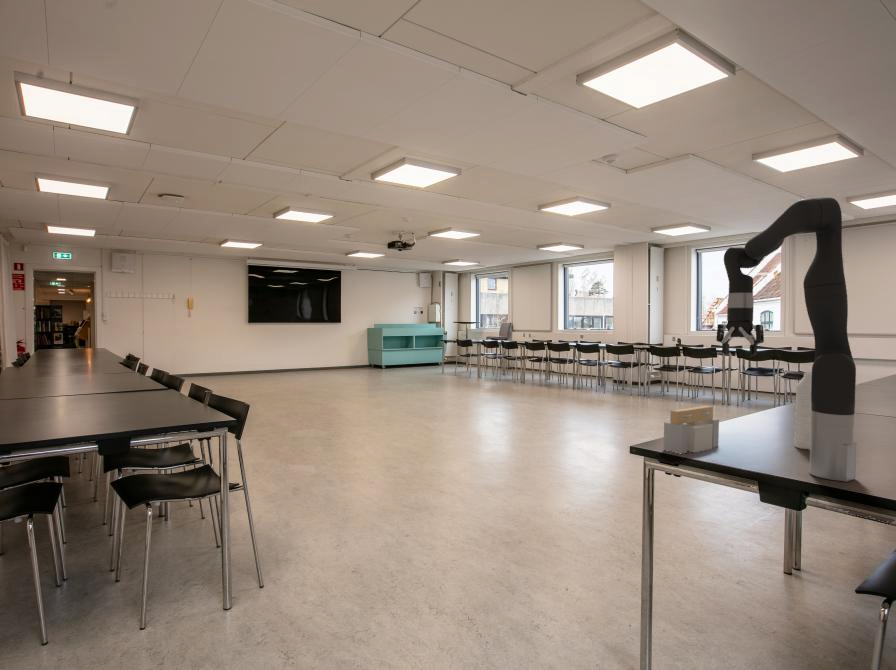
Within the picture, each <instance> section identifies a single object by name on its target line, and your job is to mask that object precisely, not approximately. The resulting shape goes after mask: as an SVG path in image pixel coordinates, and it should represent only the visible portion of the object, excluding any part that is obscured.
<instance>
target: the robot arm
mask: <svg viewBox="0 0 896 670" xmlns="http://www.w3.org/2000/svg"><path fill="white" fill-rule="evenodd" d="M842 220H843V219H842V208H841V205H840V203H839V202H838V200H837V199H836V198H833V197H807V198H803V199H800V200H796V201H795V202H793V204H791V205H790V206H789V207H788V208H787V209H786V210H785V211H784V212H783V213H781V215H780V216H778V218H777V219H775V220H774V221H773V222H772V224H770V225H769V226H768V227H767V228H766V229H764V230H763V231H761V232H760V233H758V234H756V235H755V236H754V237H751V238H750V239H749V240H748V241H747V242H746V243H745V245H744V246H730V247H728V248H727V249H726V251H725V253H724V255H723V263H724V267H725V270H726V275H727V278H728V296H727V303H726V306H727V308H726V310H727V312H726V313H727V314H726V320H727V321H726V322H727V323H726V324H723V323H720V324H717V329H716V339H715V340H716V342H718V343H721V344H722V345H721V346H722V348H721V353H722V354H723V356H725V355H726V356H728V355H729V354H730V341H731V340H733V339H734V338H745V340H747V341H748V342H749V356H750V357H755V356H756V355H757V353H758V345H759V344H763V343H765V341H764V340H765V337H764V336H765V335H764V333H765V331H764V325H763V324H754V323H753V321H754V304H755V303H754V278H753V277H752V276H751V275H748V274H746V273H743V272H742V269H752V268H755V267H758V265H759V264H760V263H761V262H762V261H763V260H764V258H765V257H768V256H769V255H771V254H772V253H774V252H775V251H777V250H778V249H780V248H781V246H782V245H783V243H784V241H785V239H786V238H788V237H789V236H793V235H796V234H800V233H801V234H810V233H813V234H815V239H816V250H815V255H814V257H813V260H812V261H811V263H810V265H809V267H808V269H807V271H806V273H805V276H804V279H803V293H804V295H803V296H804V303H805V307H806V311H807V315H808V319H809V322H810V325H811V328H812V333H813V337H814V362H813V364H812V366H811V372H812V380H811V437H810V450H809V470H808V471H809V474H810V475H812V476H814V477H817V478H821V479H826V480H830V481H831V480H832V481H840V482H845V483H846V482H847V483H848V482H850V481H853V480H855V479H856V474H857V473H856V471H857V470H856V469H857V445H858V444H857V442H855V441H854V439H855V437H854V436H855V410H856V409H855V407H856V383H857V382H856V381H857V367H856V363H855V361H854V358H853V355H852V351H851V347H850V341H849V337H848V318H849V317H848V316H849V313H848V312H849V311H848V308H849V306H848V304H849V303H848V292H847V291H848V289H847V283H846V277H845V276H846V275H845V270H844V261H843V260H844V259H843V248H842V247H843V239H842V236H843V235H842V233H843V232H842V230H843V229H842V228H843V227H842V226H843V221H842ZM726 330H727V333H726V334H725V331H726ZM753 330H754V332H755V335H754V334H753V333H752V331H753Z"/></svg>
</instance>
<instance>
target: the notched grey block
mask: <svg viewBox="0 0 896 670" xmlns="http://www.w3.org/2000/svg"><path fill="white" fill-rule="evenodd" d="M719 427H720V419H718V418H714V417H713V419H708V420H702V421H696V422H690V423H684V424H678V425H677V424H672V423H670V421H664V423H663V450H668V451H672V452H677V453H681V454H682V453H688V452H687V451H690V452H689V453H691V452H694V453H693V454H696V453H695V452H697V453H701V452H700V451H702V452H705V450H706V451H710V449H711V450H713V447H714V448H717V446H718V447H719V437H720V436H719V435H720V434H719V432H720V431H719V430H720V428H719ZM668 451H667V452H668ZM672 452H671V453H672ZM682 455H683V454H682Z"/></svg>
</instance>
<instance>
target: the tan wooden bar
mask: <svg viewBox="0 0 896 670" xmlns="http://www.w3.org/2000/svg"><path fill="white" fill-rule="evenodd" d="M669 417H670V421H669V422H670V423H672V424H677V425H678V424H684V423H690V422H696V421H702V420H708V419H713V418H714V406H710V405H703V406H702V405H701V406H695V407H687V408H681V409H679V408H678V409H672V410H670V416H669Z"/></svg>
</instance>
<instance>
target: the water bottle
mask: <svg viewBox="0 0 896 670" xmlns="http://www.w3.org/2000/svg"><path fill="white" fill-rule="evenodd" d="M811 380H812V371H811V372H804V373H803V377H802V378H801V379H800V380H799V382H798V383H797V384H796V385H795V393H796V394H795V397H796V398H795V411H794V413H795V417H794V421H795V422H794V432H795V433H794V443H793V446H794V447H795V448H798V449H802V450H803V449H804V450H807V449H808V450H809V451H810V437H811Z"/></svg>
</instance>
